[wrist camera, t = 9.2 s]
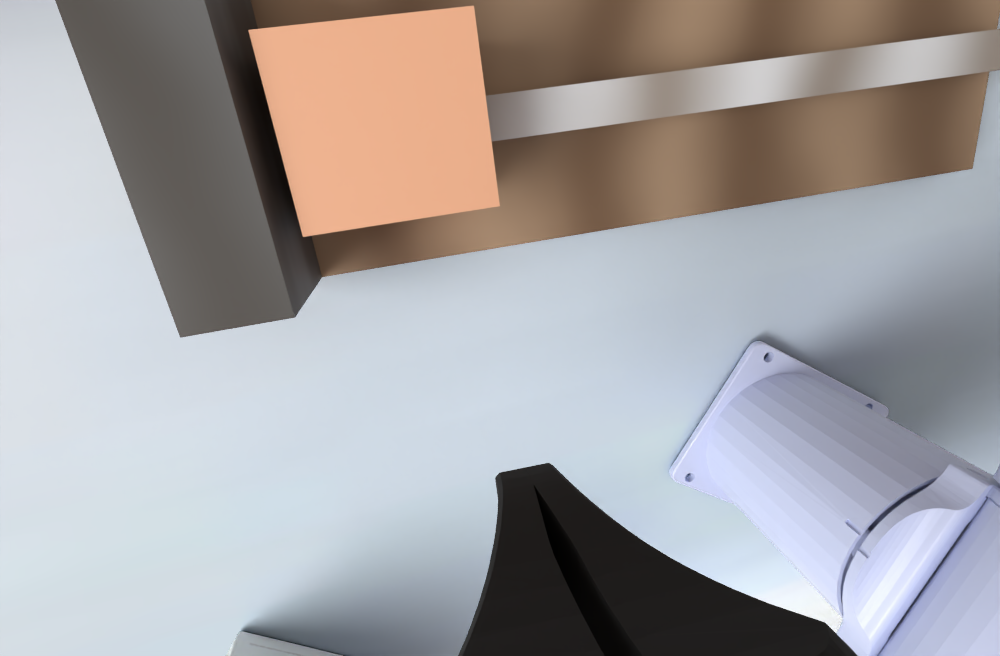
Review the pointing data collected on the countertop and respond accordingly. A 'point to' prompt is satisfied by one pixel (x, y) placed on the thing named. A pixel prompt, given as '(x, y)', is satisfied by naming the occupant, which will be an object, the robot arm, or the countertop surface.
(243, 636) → the small box
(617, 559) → the robot arm
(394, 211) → the slider block
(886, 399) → the countertop surface
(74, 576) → the countertop surface
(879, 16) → the rail board
